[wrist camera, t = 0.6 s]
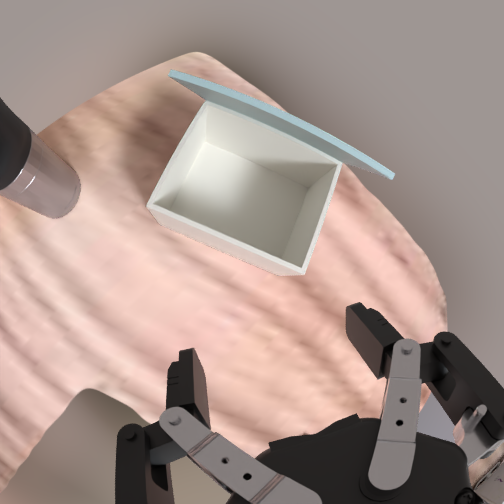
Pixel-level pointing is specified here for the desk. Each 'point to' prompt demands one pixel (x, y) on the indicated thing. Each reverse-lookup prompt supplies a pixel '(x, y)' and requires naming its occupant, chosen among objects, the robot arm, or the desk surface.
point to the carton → (246, 190)
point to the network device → (492, 486)
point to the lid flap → (280, 122)
